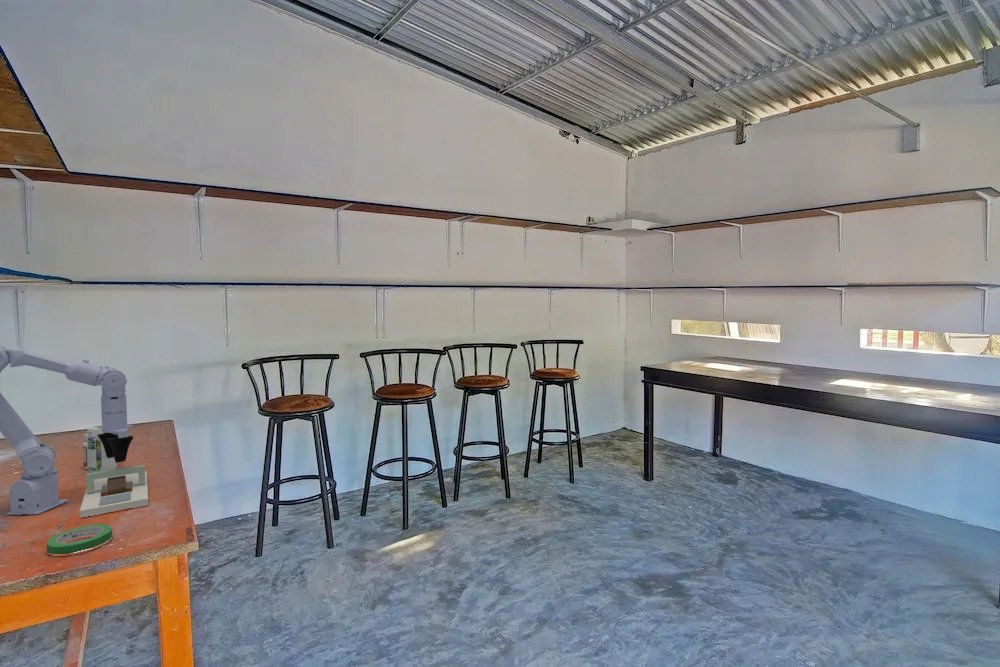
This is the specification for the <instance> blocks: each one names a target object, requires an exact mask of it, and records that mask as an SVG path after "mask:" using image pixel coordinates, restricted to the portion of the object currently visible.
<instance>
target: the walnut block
mask: <svg viewBox="0 0 1000 667" xmlns="http://www.w3.org/2000/svg"><path fill="white" fill-rule="evenodd" d="M107 490H108V492H107V496H108V495H114V494H120V493H126V492H127V489H126V475H124V476H117V477H111V478H108V480H107Z"/></svg>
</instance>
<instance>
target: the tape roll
mask: <svg viewBox="0 0 1000 667" xmlns="http://www.w3.org/2000/svg"><path fill="white" fill-rule="evenodd" d="M86 535H96V536H94V537H91V538H84V539H80V540H76V541H72V542H70V543H64V542H66V541H68V540H71V539H74V538H77V537H81V536H86ZM111 537H112V538H113V528H112V526H111V525H109V524H103V523H101V524H98V523H97V524H90V525H83V526H78V527H74V528H71V529H69V530H68V529H67V530H65V531H61V532H60V533H57V534H56V535H53V536H52V537H50V538H49V539H48V540H47V541H46V553H47V552H48V553H51V554H69V553H73V552H77V551H81V550H85V549H89V548H92V547H95V546H98V545H100V544H102V543H104V542H106V541H107V540H109V539H110V538H111Z"/></svg>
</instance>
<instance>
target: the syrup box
mask: <svg viewBox="0 0 1000 667" xmlns="http://www.w3.org/2000/svg"><path fill="white" fill-rule="evenodd" d="M86 428H87V429H86V431H87V432H86V434H87V440H88V469H87V471H89V472H88V473H91V472H97V471H104V470H111V469H116V468H117V469H118V463H116V462H115V459H114V457H112V458H107V456H106V453H105V450H104V446H103V444H102V442H101V440H100V439H99V437H98V436H97V435H98V434H103V433H104V432H101V429H102V424H100V425H99V424H98V425H95V426H90V427H86Z"/></svg>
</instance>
